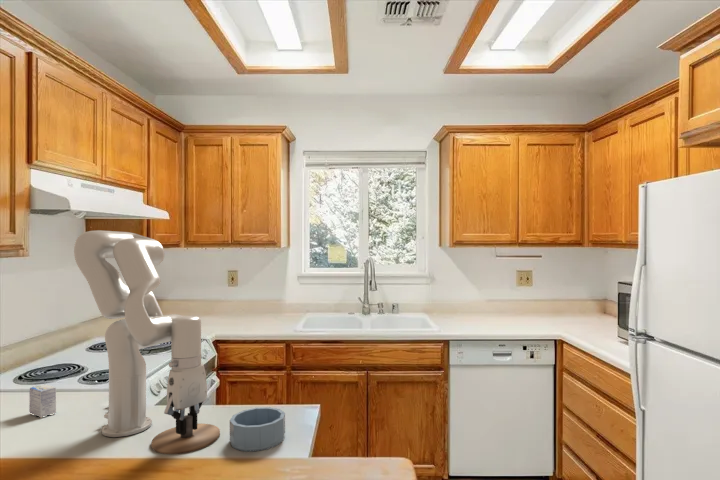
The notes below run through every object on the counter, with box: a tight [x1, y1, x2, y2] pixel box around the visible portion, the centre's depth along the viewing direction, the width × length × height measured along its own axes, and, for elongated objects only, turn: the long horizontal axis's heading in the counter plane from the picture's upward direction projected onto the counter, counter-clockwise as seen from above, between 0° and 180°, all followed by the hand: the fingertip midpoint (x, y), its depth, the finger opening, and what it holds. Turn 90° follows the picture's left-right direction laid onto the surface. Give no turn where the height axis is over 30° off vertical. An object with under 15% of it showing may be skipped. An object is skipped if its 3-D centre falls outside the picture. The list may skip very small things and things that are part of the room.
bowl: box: [229, 406, 286, 452], centre depth 111 cm, size 14×14×6 cm
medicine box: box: [28, 384, 57, 418], centre depth 134 cm, size 8×4×9 cm, turn 59°
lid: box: [151, 414, 221, 455], centre depth 112 cm, size 17×17×6 cm
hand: (186, 430), depth 112 cm, fingers closed on lid, 3 cm apart
